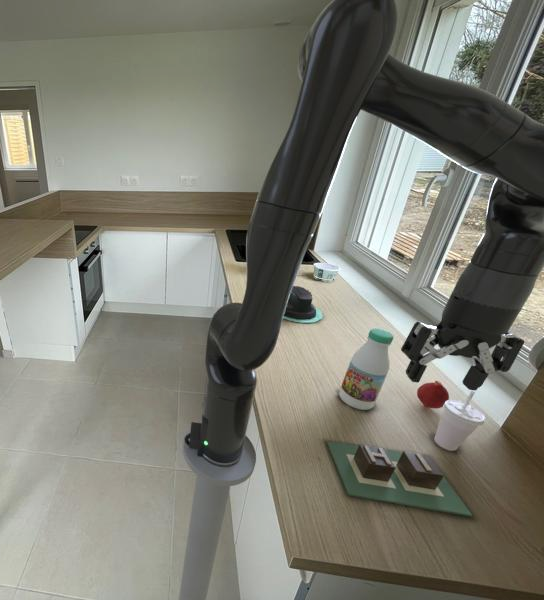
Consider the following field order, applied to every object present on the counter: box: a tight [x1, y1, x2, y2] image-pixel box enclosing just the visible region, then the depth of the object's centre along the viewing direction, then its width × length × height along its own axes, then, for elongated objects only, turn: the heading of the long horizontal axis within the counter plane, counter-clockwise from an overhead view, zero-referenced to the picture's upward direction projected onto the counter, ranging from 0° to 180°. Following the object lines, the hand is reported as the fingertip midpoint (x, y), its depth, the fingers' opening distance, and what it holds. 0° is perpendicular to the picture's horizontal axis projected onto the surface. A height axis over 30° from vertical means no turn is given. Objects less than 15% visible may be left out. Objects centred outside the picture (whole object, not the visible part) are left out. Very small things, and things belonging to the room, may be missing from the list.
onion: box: [416, 380, 450, 409], centre depth 79 cm, size 6×6×8 cm
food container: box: [313, 262, 341, 283], centre depth 162 cm, size 12×12×6 cm
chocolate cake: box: [283, 285, 324, 324], centre depth 127 cm, size 15×19×20 cm
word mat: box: [326, 441, 473, 518], centre depth 63 cm, size 20×12×1 cm, turn 80°
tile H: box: [354, 444, 396, 482], centre depth 62 cm, size 4×4×4 cm
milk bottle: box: [338, 328, 394, 411], centre depth 78 cm, size 8×8×20 cm
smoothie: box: [433, 390, 487, 452], centre depth 67 cm, size 6×6×14 cm
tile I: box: [397, 450, 445, 490], centre depth 61 cm, size 4×4×4 cm
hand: (439, 383), depth 54 cm, fingers open, 8 cm apart
